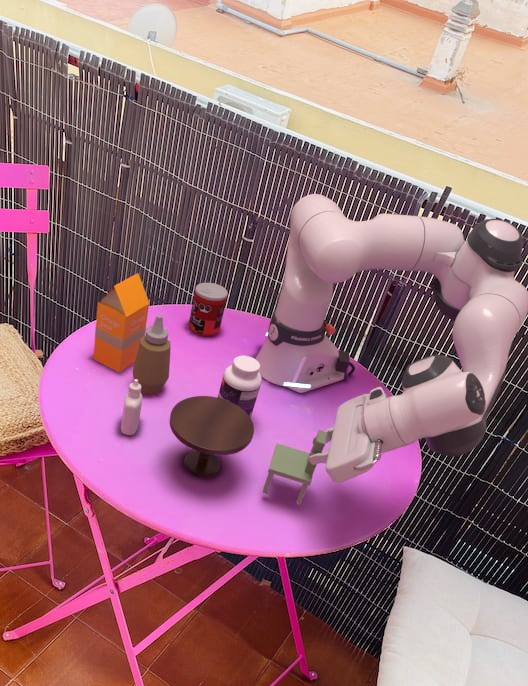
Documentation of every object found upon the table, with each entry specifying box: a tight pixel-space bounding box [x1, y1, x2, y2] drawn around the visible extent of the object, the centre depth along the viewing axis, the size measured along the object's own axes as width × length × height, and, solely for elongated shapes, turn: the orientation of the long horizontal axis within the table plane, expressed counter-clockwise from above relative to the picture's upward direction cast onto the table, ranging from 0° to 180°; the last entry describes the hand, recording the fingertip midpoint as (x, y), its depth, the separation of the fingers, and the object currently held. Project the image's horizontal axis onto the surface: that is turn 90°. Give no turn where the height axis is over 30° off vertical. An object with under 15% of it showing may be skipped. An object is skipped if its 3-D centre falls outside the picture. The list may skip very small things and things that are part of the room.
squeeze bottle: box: [132, 314, 172, 396], centre depth 146 cm, size 8×8×18 cm
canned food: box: [188, 282, 228, 338], centre depth 169 cm, size 8×8×11 cm
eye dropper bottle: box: [120, 379, 143, 436], centre depth 137 cm, size 4×6×12 cm
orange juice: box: [92, 272, 150, 373], centre depth 151 cm, size 8×9×20 cm
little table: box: [169, 395, 255, 478], centre depth 132 cm, size 16×16×11 cm
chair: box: [262, 429, 327, 505], centre depth 128 cm, size 8×8×14 cm
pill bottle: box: [217, 355, 263, 419], centre depth 143 cm, size 8×8×14 cm
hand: (312, 451), depth 126 cm, fingers closed on chair, 3 cm apart
